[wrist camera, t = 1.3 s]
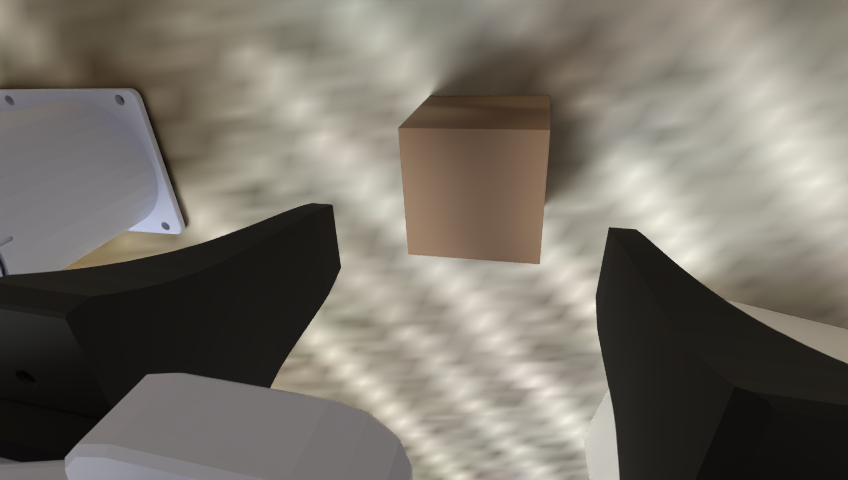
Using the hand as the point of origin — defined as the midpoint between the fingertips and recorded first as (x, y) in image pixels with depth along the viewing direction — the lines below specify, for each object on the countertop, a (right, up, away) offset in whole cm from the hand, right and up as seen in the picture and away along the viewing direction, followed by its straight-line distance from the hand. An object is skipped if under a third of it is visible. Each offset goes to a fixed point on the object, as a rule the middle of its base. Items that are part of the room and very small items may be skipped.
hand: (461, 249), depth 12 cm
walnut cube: (+2, +4, +8) cm, 10 cm away
